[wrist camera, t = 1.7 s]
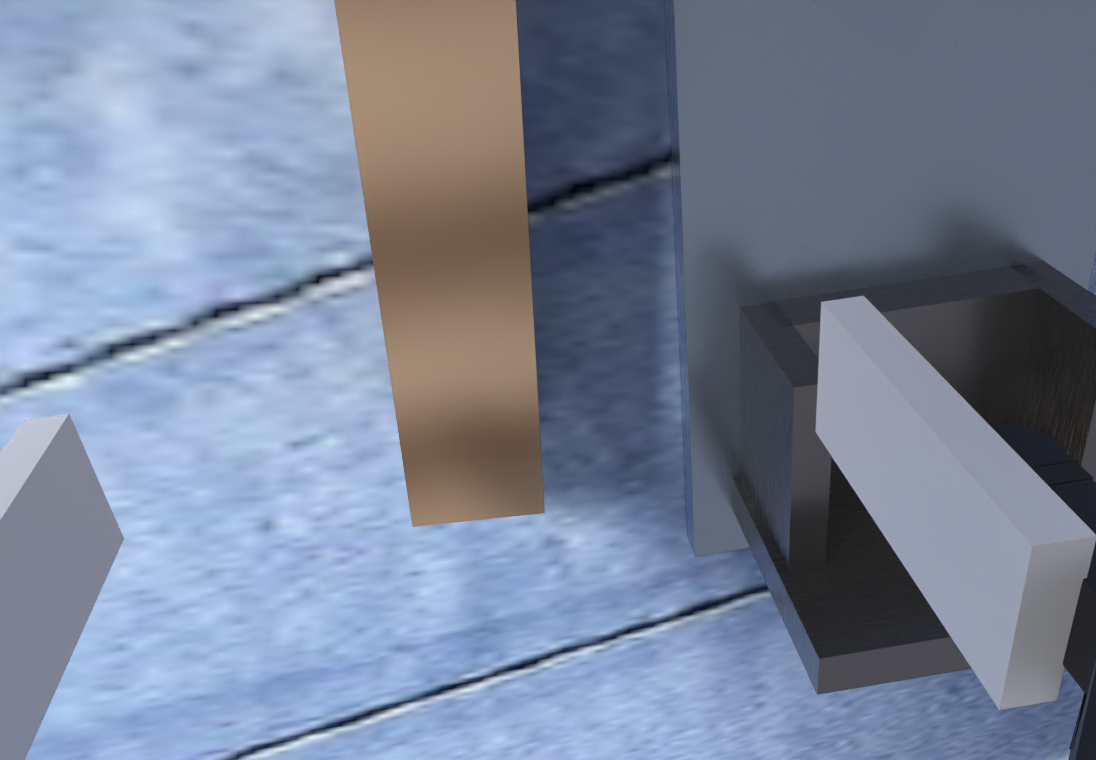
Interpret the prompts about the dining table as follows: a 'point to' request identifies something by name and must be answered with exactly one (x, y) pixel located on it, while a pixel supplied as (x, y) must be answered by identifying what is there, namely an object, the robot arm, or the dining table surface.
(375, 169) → the rail
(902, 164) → the block fixture
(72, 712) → the dining table surface
